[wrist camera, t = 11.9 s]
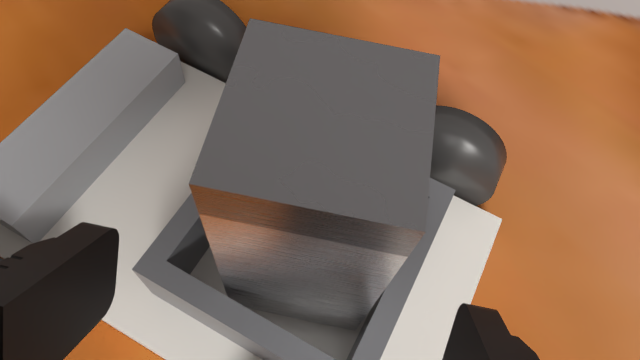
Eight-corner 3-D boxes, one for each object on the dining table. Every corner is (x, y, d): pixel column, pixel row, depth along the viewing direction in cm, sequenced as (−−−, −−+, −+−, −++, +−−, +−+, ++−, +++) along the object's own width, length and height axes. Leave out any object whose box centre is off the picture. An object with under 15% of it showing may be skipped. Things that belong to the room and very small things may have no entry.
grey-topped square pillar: (230, 304, 19) (188, 183, 10) (261, 194, 21) (250, 18, 12) (355, 330, 18) (425, 232, 10) (371, 216, 21) (440, 55, 12)
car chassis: (-62, 271, 20) (-158, 223, 15) (167, 42, 27) (146, -35, 22) (366, 549, 16) (399, 589, 12) (499, 204, 23) (550, 150, 19)
